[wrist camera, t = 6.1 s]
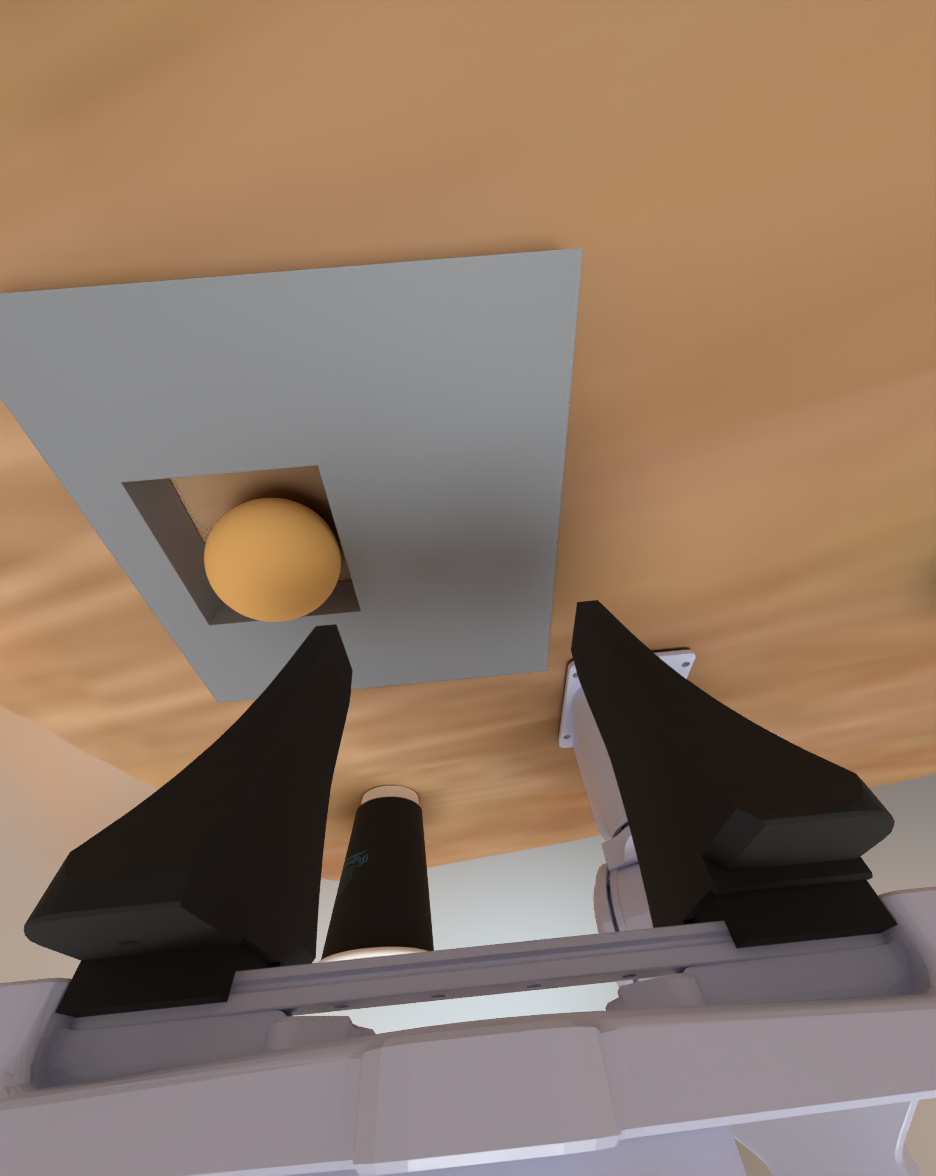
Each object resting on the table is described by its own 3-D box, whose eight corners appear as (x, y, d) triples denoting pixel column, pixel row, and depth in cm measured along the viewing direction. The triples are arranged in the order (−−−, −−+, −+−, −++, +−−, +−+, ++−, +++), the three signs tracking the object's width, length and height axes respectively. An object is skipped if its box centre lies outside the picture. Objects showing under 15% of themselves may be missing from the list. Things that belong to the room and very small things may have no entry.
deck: (537, 638, 25) (546, 670, 23) (234, 667, 24) (217, 702, 22) (560, 250, 14) (582, 247, 12) (4, 293, 13) (-71, 299, 11)
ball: (227, 649, 17) (278, 569, 21) (337, 645, 16) (371, 562, 20) (141, 557, 14) (220, 481, 17) (274, 545, 13) (328, 467, 16)
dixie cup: (336, 778, 33) (302, 961, 24) (436, 773, 33) (438, 950, 25) (349, 822, 38) (325, 987, 29) (436, 817, 38) (438, 977, 30)
